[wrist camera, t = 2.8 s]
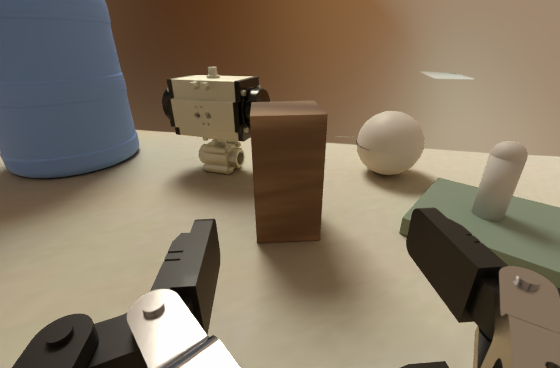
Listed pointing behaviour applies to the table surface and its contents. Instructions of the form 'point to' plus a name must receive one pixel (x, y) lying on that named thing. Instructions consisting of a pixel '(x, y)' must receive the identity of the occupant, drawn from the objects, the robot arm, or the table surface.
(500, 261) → the robot arm
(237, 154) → the pneumatic valve
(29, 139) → the water jug
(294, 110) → the brown wooden block
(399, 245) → the table surface
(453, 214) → the stub base
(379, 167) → the seamed sphere
